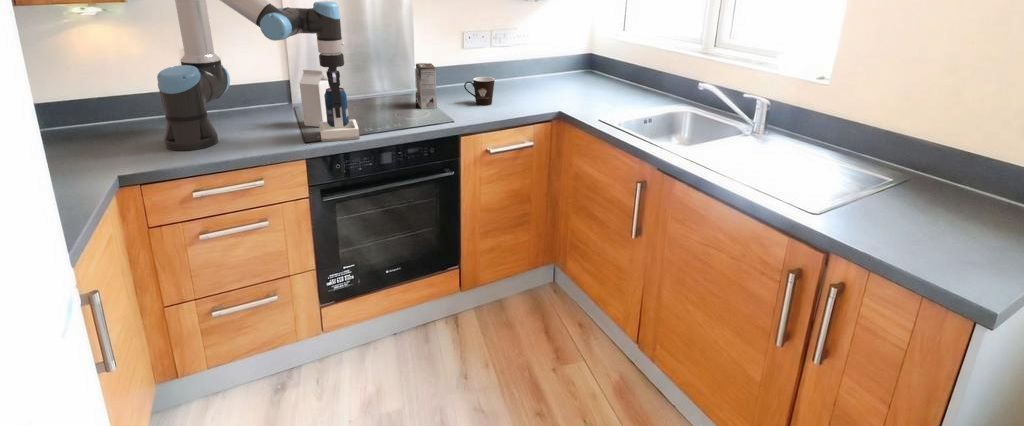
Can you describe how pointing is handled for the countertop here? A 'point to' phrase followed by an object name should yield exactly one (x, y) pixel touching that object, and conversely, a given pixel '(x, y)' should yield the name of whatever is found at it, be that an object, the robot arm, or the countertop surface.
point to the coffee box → (426, 85)
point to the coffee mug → (482, 90)
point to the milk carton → (313, 97)
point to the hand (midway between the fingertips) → (338, 123)
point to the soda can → (330, 110)
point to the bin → (339, 132)
